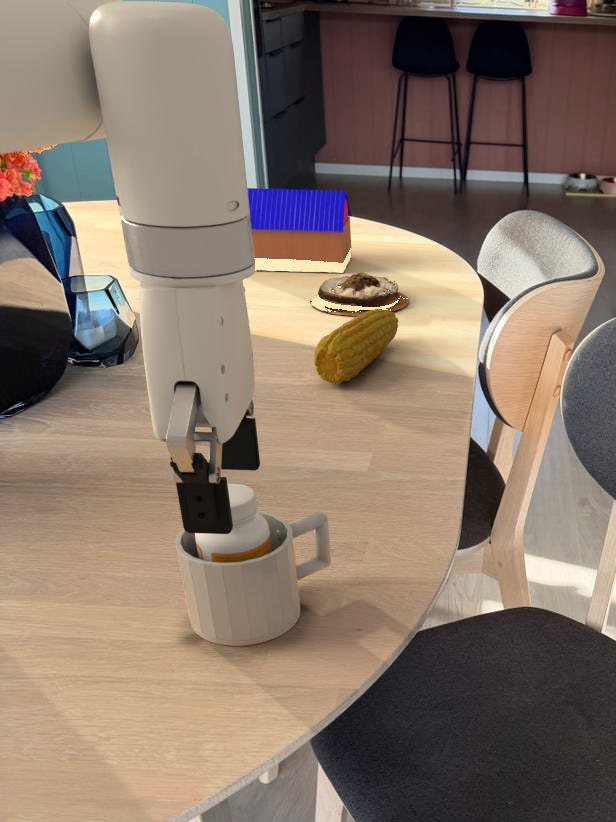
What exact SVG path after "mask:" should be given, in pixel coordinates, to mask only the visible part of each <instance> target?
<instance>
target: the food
mask: <svg viewBox="0 0 616 822" xmlns="http://www.w3.org/2000/svg"><path fill="white" fill-rule="evenodd" d="M398 323H399V318H398V317H397V316H396V314H395V311H389V310H382V309H375V310H370V311H367V312H365V313H362V314H361V315H360V316H354V318H352V319H351V320H348V321H346V322H344V323H343V324H342V325H340V326H338V328H335V329H334V330H333V331H331V332H330V333H329V334H326V335H325V336H323V337H322V338H321V339H320V340H319V342H318V343H317V344H316V346H315V347H316V348H315V350H314V356H313V358H314V359H313V363H314V366H315V370H316V372H317V375H318V376H319V379H321V380H323V381H326V382H328V383H331V384H341V383H342V382H345V381H346V382H348V381H350V380H351V379H352V378H355V377H357V376H358V375H359V373H360V372H362V371H363V370H364V369H365V368H366V367H367V366H369V365H370V364H371V363H372V362H374V361H375V360H376V358H377V357H378V356H379V355H380V354H381V353H382V352H383V351H385V348H386V347H388V345H390V344H391V342H392V341H393V340H394V339H395V337H396V334H397V332H398V328H399V324H398Z"/></svg>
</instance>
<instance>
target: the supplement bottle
mask: <svg viewBox="0 0 616 822" xmlns="http://www.w3.org/2000/svg"><path fill="white" fill-rule="evenodd" d="M227 485H228V492H229V500H230V507H231V514H232V522H233V528H232V530H231V532H230V533H229V534H205V533H195V539H196V545H197V551H198V557H199V559H201V560H204V561H208V562H218V563H232V562H243V561H247V560H252V559H257V558H259V557H262V556H264V555H267V554H269V553H272V546H271V537H270V530H269V525H268V523H267V521H266V519H265V518H264V517H263V516H262V515H260V514H259V513H257V510H258V503H257V496H256V492H255V491H254V489H253V488H252V487H250V486H248V485H245V484H241V483H227Z"/></svg>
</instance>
